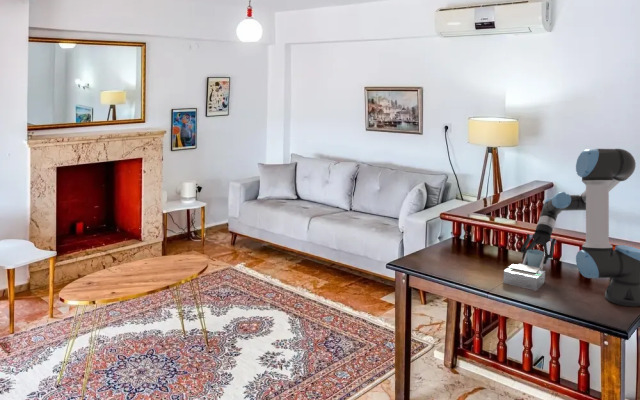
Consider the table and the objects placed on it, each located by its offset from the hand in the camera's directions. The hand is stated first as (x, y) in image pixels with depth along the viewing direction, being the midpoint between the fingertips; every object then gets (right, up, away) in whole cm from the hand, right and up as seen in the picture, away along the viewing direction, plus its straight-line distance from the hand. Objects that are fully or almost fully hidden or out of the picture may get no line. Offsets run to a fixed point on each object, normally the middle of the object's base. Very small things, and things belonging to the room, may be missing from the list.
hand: (531, 267), depth 264 cm
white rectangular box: (-7, -6, -7) cm, 12 cm away
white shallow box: (-5, -5, -6) cm, 9 cm away
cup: (+2, -3, +3) cm, 5 cm away
